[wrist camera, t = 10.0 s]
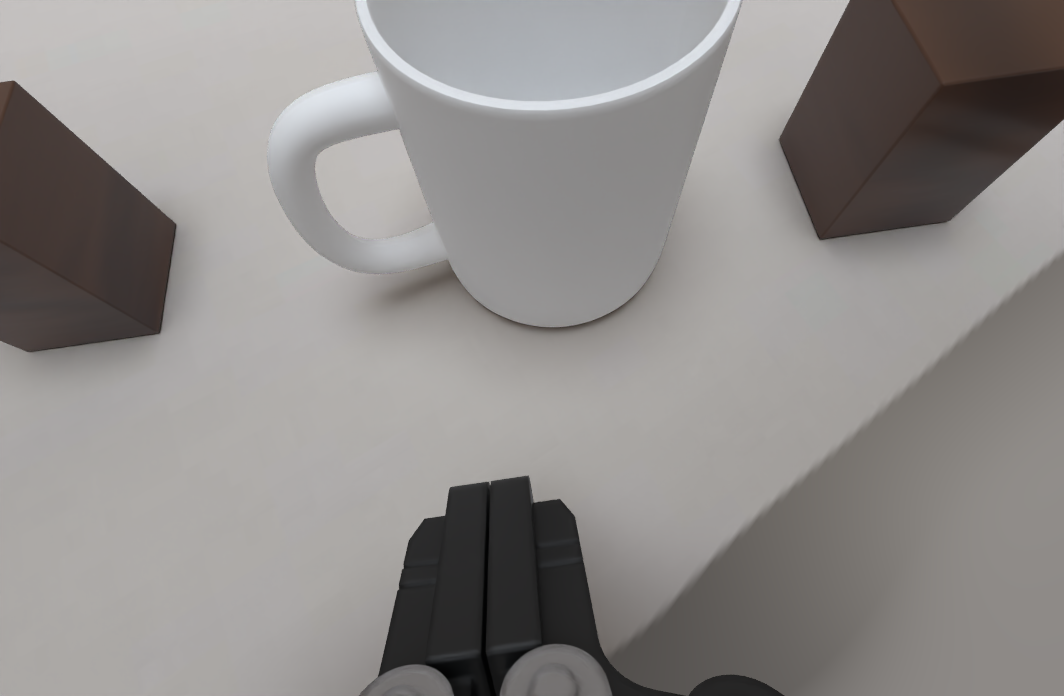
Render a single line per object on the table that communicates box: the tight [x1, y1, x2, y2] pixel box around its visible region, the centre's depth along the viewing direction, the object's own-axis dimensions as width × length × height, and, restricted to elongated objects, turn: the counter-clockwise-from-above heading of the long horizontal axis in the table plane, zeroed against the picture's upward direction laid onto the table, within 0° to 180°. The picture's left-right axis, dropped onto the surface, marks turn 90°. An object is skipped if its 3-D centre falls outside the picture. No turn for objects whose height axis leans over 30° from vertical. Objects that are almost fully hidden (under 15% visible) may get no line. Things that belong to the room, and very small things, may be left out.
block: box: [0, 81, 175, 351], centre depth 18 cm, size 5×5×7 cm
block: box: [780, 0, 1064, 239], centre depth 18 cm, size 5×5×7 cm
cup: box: [267, 0, 743, 327], centre depth 16 cm, size 8×12×10 cm
